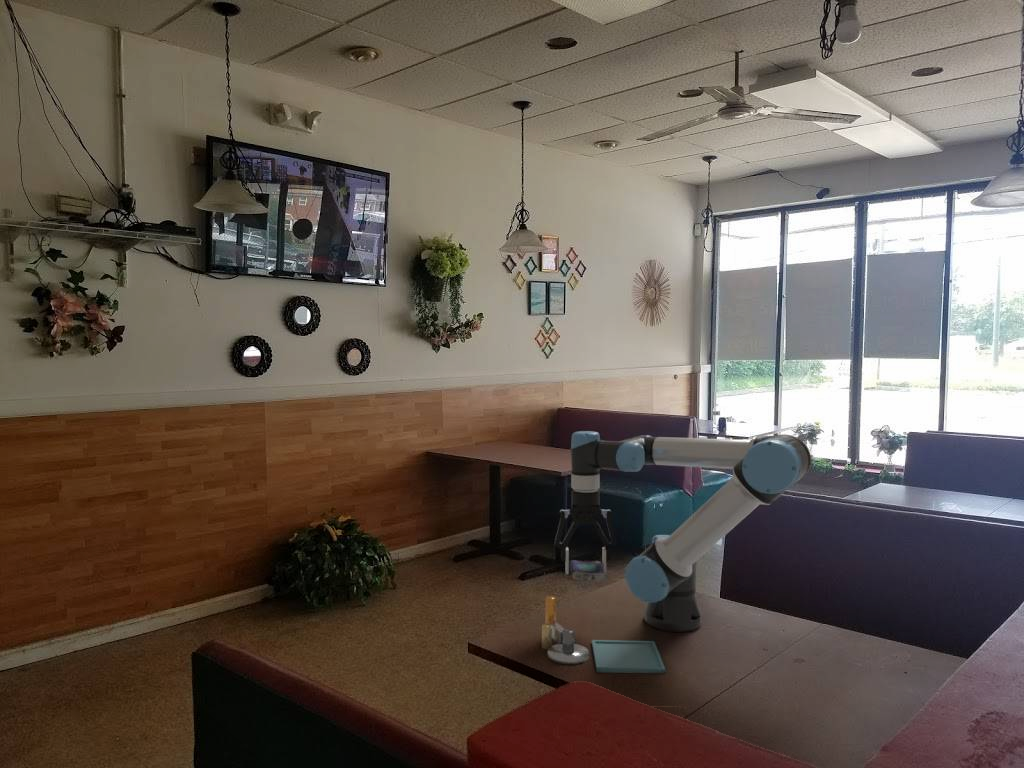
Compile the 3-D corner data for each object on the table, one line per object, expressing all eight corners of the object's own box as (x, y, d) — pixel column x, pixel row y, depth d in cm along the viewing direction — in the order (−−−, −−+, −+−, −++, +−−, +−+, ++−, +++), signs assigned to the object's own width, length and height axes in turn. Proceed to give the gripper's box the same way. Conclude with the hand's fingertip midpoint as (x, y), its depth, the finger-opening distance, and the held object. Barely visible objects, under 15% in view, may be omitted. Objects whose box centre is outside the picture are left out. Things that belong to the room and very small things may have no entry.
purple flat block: (602, 560, 199) (607, 575, 188) (602, 571, 199) (606, 586, 188) (568, 559, 199) (571, 573, 188) (567, 569, 199) (570, 584, 188)
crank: (569, 643, 182) (569, 607, 181) (559, 644, 181) (559, 608, 180) (552, 629, 190) (553, 595, 189) (543, 631, 189) (544, 596, 188)
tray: (654, 645, 185) (654, 641, 185) (665, 673, 170) (665, 668, 170) (591, 644, 186) (591, 639, 186) (596, 672, 170) (596, 667, 170)
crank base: (587, 646, 185) (587, 622, 184) (590, 664, 174) (590, 639, 174) (541, 645, 185) (541, 621, 185) (542, 663, 174) (542, 639, 174)
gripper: (625, 486, 200) (625, 568, 201) (544, 486, 201) (544, 568, 202) (628, 492, 193) (628, 577, 194) (544, 492, 193) (544, 576, 195)
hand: (585, 572), depth 198 cm, fingers closed on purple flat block, 9 cm apart
